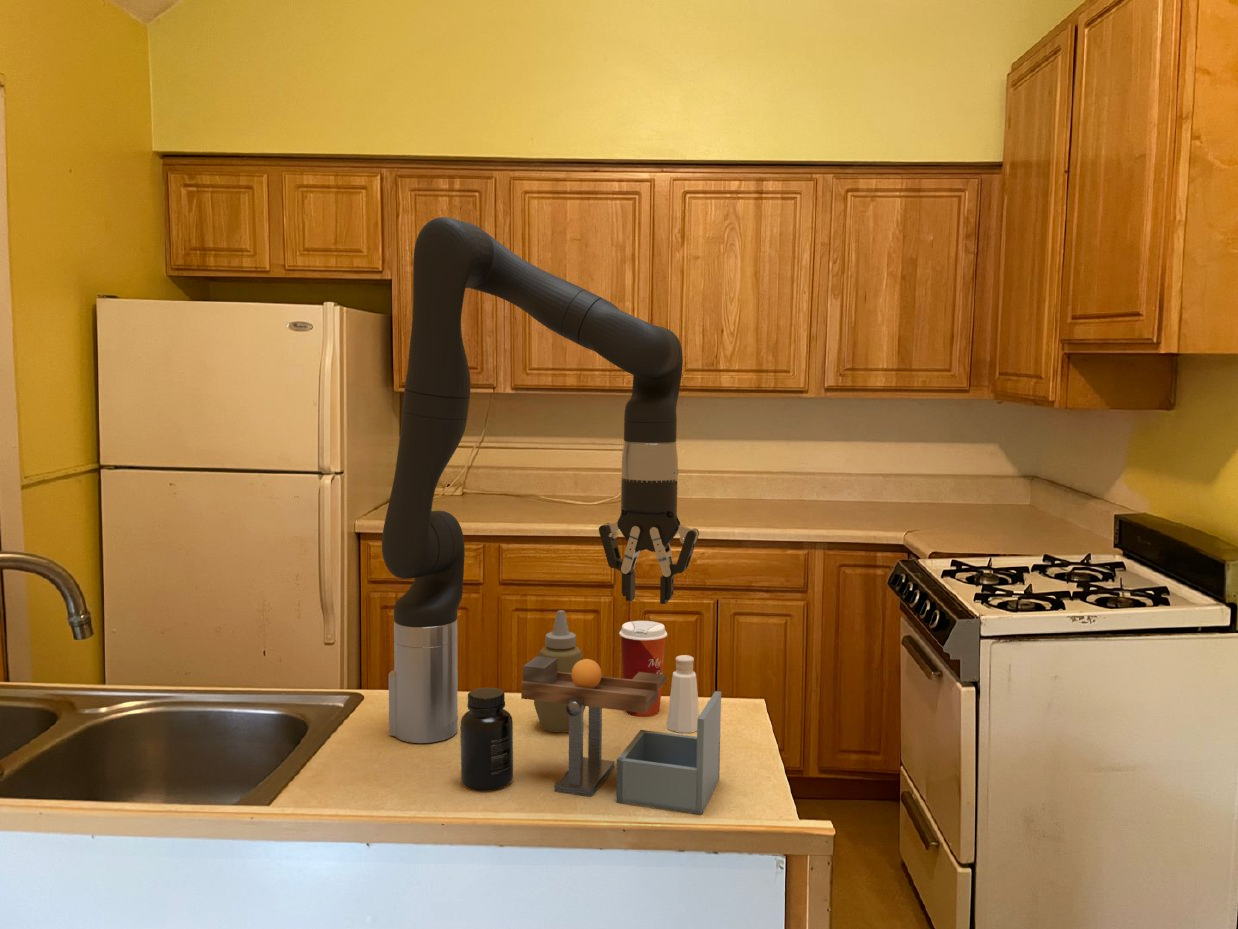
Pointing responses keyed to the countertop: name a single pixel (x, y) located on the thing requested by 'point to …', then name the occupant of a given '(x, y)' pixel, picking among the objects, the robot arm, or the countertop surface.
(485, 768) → the supplement bottle
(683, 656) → the salt shaker
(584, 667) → the ball
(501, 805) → the countertop surface
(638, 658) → the paper cup
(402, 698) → the robot arm
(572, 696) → the lever
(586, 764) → the pivot stand
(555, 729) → the squeeze bottle
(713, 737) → the cup
